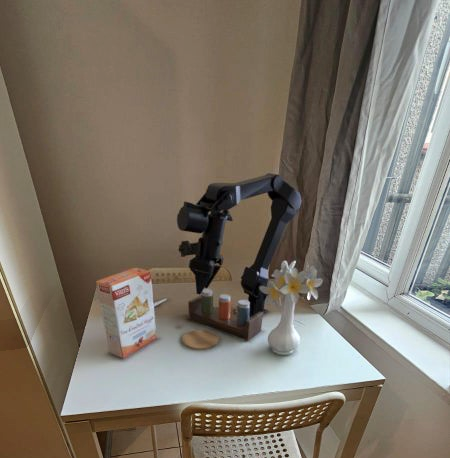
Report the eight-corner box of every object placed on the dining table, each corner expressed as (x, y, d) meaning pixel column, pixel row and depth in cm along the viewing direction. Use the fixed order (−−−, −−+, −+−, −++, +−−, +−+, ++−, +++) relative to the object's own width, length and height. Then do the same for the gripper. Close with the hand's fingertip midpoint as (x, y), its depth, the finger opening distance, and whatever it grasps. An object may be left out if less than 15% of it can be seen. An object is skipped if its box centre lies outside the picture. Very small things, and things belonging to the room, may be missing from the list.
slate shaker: (240, 319, 107) (242, 298, 103) (250, 322, 105) (252, 301, 101) (234, 323, 105) (235, 302, 100) (244, 327, 103) (245, 305, 99)
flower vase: (247, 358, 94) (255, 269, 79) (276, 332, 107) (287, 251, 92) (290, 373, 89) (306, 281, 74) (314, 344, 102) (333, 260, 86)
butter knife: (110, 324, 107) (117, 326, 105) (163, 297, 126) (169, 298, 124) (110, 326, 107) (117, 328, 106) (163, 299, 126) (169, 300, 125)
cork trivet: (197, 328, 108) (197, 326, 107) (225, 338, 103) (225, 337, 102) (174, 341, 100) (174, 340, 100) (203, 353, 96) (203, 352, 95)
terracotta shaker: (223, 313, 110) (223, 293, 106) (232, 316, 109) (233, 296, 104) (216, 317, 108) (216, 296, 103) (225, 320, 106) (226, 299, 102)
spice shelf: (203, 311, 118) (203, 294, 114) (261, 331, 107) (263, 312, 103) (188, 319, 112) (188, 301, 109) (247, 341, 102) (249, 321, 98)
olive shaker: (206, 307, 113) (206, 287, 109) (215, 310, 112) (215, 290, 107) (199, 311, 111) (198, 291, 107) (208, 314, 109) (208, 294, 105)
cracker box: (124, 360, 92) (111, 285, 79) (108, 353, 94) (93, 280, 82) (158, 339, 101) (151, 270, 89) (143, 333, 104) (134, 265, 91)
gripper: (193, 227, 101) (185, 278, 109) (174, 229, 85) (166, 290, 93) (228, 236, 101) (217, 287, 108) (216, 240, 85) (205, 300, 92)
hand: (202, 290), depth 100 cm, fingers open, 9 cm apart
